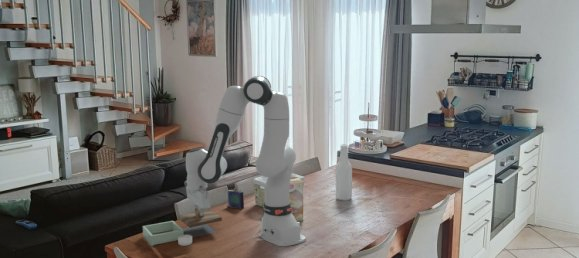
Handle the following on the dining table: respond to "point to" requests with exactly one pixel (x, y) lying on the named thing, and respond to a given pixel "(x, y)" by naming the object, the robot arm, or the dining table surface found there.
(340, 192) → the alcohol
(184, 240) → the white rounded piece
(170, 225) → the dish
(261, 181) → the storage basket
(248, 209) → the dining table surface
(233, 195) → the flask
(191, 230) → the trivet
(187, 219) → the lid
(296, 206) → the coffeecake box
